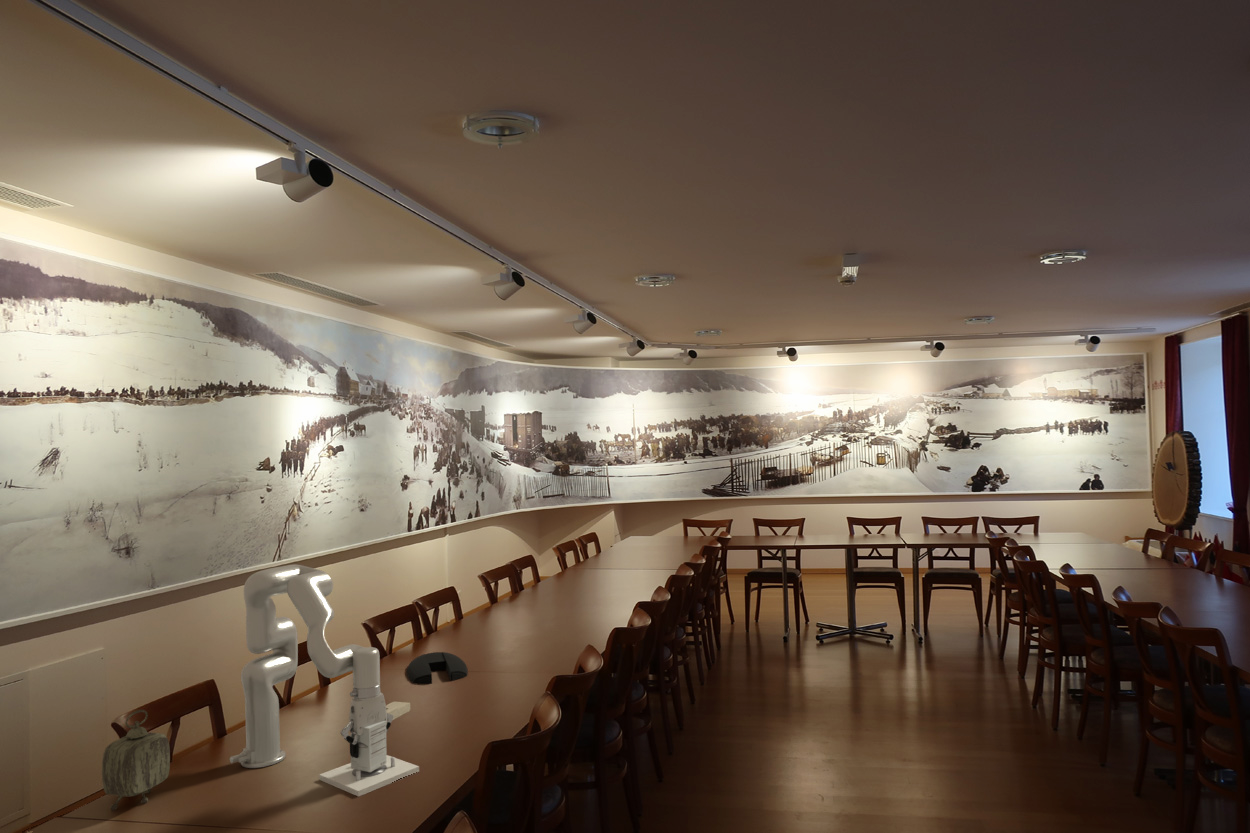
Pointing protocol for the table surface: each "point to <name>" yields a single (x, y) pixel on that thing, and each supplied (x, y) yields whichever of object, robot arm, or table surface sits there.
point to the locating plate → (368, 776)
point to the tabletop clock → (135, 762)
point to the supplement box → (371, 748)
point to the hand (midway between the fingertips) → (368, 751)
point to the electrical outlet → (397, 708)
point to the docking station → (436, 667)
